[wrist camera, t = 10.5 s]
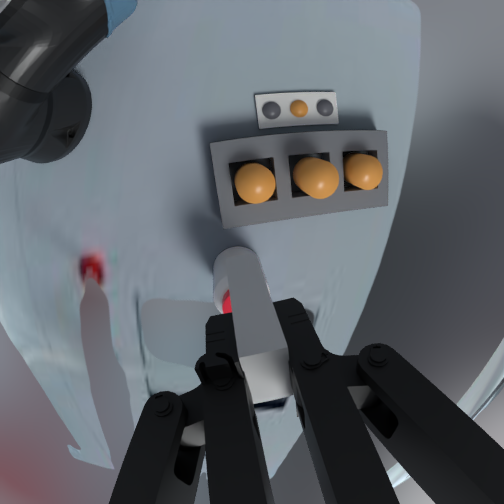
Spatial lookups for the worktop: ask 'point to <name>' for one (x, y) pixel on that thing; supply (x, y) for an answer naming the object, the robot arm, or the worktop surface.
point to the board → (283, 199)
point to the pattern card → (296, 109)
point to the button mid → (316, 177)
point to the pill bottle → (226, 278)
